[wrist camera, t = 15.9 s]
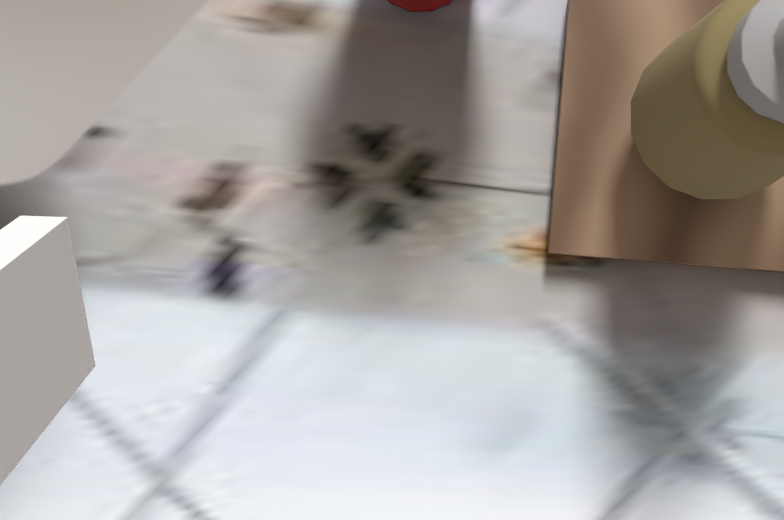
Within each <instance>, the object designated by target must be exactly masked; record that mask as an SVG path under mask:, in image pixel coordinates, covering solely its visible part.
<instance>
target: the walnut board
mask: <svg viewBox="0 0 784 520" xmlns="http://www.w3.org/2000/svg"><path fill="white" fill-rule="evenodd" d="M723 1H724V0H568V4H567V16H566V29H565V41H564V53H563V65H562V78H561V90H560V102H559V115H558V127H557V139H556V152H555V164H554V176H553V189H552V201H551V213H550V226H549V238H548V250H547V254H558V255H571V256H583V257H596V258H609V259H621V260H634V261H647V262H659V263H672V264H685V265H698V266H710V267H723V268H736V269H748V270H761V271H774V272H784V176H783V177H782V178H780V179H779V180H777V181H776V182H774V183H773V184H771V185H770V186H767V187H765V188H762V189H760V190H758V191H755V192H753V193H750V194H748V195H745V196H743V197H740V198H738V199H699V198H696V197H694V196H691V195H688V194H686V193H683V192H681V191H678V190H675V189H673V188H670V187H668V186H667V185H666V184H665V183H664V182H663V181H662V180H661V179H660V178H659V177H658V176H657V175H656V174H654V173H653V172H652V171H651V170H650V169H649V168H648V167H647V166H646V165H645V164H644V162H643V160H642V158H641V155H640V153H639V151H638V149H637V146H636V144H635V142H634V140H633V137H632V135H631V99H632V97H633V94H634V92H635V89H636V87H637V85H638V82H639V80H640V77H641V75H642V73H643V70H644V69H645V68H646V67H647V66H648V65H649V64H650V63H651V62H652V61H653V60H654V59H655V58H656V57H657V56H658V55H659V54H660V53H661V52H662V51H663V50H664V49H665V48H666V47H667V46H668V45H669V44H671V43H672V42H673V41H674V40H676V39H677V38H678V37H679V36H681V35H682V34H683V33H684V32H686V31H687V30H688V29H689V28H691V27H692V26H693V25H694V24H696V23H697V22H698V21H699V20H701V19H702V18H703V17H704V16H706V15H707V14H708V13H709V12H711V11H712V10H713V9H714V8H716V7H717V6H718V5H719V4H721V3H722V2H723Z"/></svg>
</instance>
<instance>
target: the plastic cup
mask: <svg viewBox="0 0 784 520" xmlns="http://www.w3.org/2000/svg"><path fill="white" fill-rule="evenodd" d="M388 1H389V2H390V3H391V4H393V5H396V6H398V7H401V8H403V9H406V10H408V11H412V12H422V11H433V10H436V9H438V8H440V7H443V6H445V5H447V4H450V3H451V2H452V1H453V0H388Z"/></svg>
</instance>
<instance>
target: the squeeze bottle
mask: <svg viewBox="0 0 784 520" xmlns="http://www.w3.org/2000/svg"><path fill="white" fill-rule="evenodd" d="M631 135H632V137H633V140H634V142H635V144H636V146H637V149H638V151H639V153H640V155H641V158H642V160H643V162H644V164H645V165H646V166H647V167H648V168H649V169H650V170H651V171H652V172H653V173H654V174H656V175H657V176H658V177H659V178H660V179H661V180H662V181H663V182H664V183H665V184H666V185H667V186H668V187H670V188H673V189H675V190H678V191H681V192H683V193H686V194H688V195H691V196H694V197H696V198H699V199H738V198H740V197H743V196H745V195H748V194H750V193H753V192H755V191H758V190H760V189H762V188H765V187H767V186H770V185H771V184H773V183H774V182H776V181H777V180H779V179H780V178H782V177H783V176H784V0H724V1H723V2H722V3H721V4H719V5H718V6H717V7H716V8H714V9H713V10H712V11H711V12H709V13H708V14H707V15H706V16H704V17H703V18H702V19H701V20H699V21H698V22H697V23H696V24H694V25H693V26H692V27H691V28H689V29H688V30H687V31H686V32H684V33H683V34H682V35H681V36H679V37H678V38H677V39H676V40H674V41H673V42H672V43H671V44H669V45H668V46H667V47H666V48H665V49H664V50H663V51H662V52H661V53H660V54H659V55H658V56H657V57H656V58H655V59H654V60H653V61H652V62H651V63H650V64H649V65H648V66H647V67H646V68H645V69H644V70H643V73H642V75H641V77H640V80H639V82H638V85H637V87H636V89H635V92H634V94H633V97H632V99H631Z"/></svg>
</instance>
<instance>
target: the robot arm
mask: <svg viewBox="0 0 784 520" xmlns="http://www.w3.org/2000/svg"><path fill="white" fill-rule="evenodd" d="M94 367H95V361H94V356H93V351H92V345H91V340H90V334H89V329H88V324H87V318H86V313H85V308H84V302H83V297H82V292H81V286H80V281H79V275H78V270H77V265H76V259H75V254H74V249H73V243H72V238H71V233H70V227H69V222H68V217H48V216H19V217H18V218H16V219H15V220H14V221H12V222H11V223H9V224H8V225H6V226H5V227H3V228H2V229H1V230H0V485H1V484H2V482H3V481H4V480H5V479H6V477H7V476H8V475H9V474H10V472H11V471H12V470H13V469H14V467H15V466H16V465H17V463H18V462H19V461H20V460H21V458H22V457H23V456H24V455H25V453H26V452H27V451H28V450H29V448H30V447H31V446H32V445H33V443H34V442H35V441H36V440H37V438H38V437H39V436H40V435H41V433H42V432H43V431H44V430H45V428H46V427H47V426H48V425H49V423H50V422H51V421H52V420H53V418H54V417H55V416H56V415H57V413H58V412H59V411H60V409H61V408H62V407H63V406H64V404H65V403H66V402H67V401H68V399H69V398H70V397H71V396H72V394H73V393H74V392H75V391H76V389H77V388H78V387H79V386H80V384H81V383H82V382H83V381H84V379H85V378H86V377H87V376H88V374H89V373H90V372H91V371H92V369H93V368H94Z"/></svg>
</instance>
